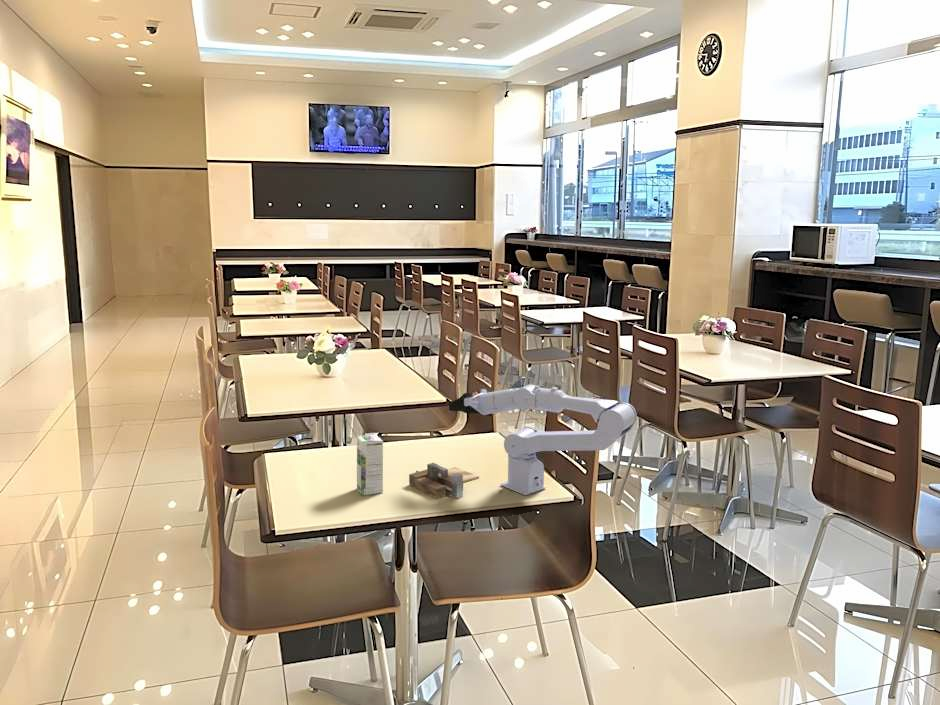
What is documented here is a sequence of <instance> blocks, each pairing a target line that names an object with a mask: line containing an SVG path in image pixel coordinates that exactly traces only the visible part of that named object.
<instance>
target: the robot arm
mask: <svg viewBox="0 0 940 705" xmlns="http://www.w3.org/2000/svg"><path fill="white" fill-rule="evenodd" d="M517 409H519V410H522V411H524V412H525V411H528V410H530V409H535V410H537V411H538V410H539V411H546V412H550V413H557V414H558V413H562V412H563V411H564V410H569V411H573V412H578V413H583V414H589V415H591V417H592V419H593V420H594V422H595V424H597V423H598V424H597V428H596V429H594V430H592V429H591V430H561V431H560V430H558V431H557V430H556V431H545V430H543V429H537V428H534V427H532V426H525V427H523V428H522V429H520V430H518V431H516V432H514V433H511V434H508V435H507V436H506V437H505V438H504V441H503V448H504V451H505V452H506V453H507V457H508V458H507V459H508V460H507V463H508V464H507V481H505V482H502V483H500V486H501V487H504V488H505V489H508V490H512V491H514V492H516V493H519V494H522V495H523V496H527V495H529V494H530V495H531V494H533V493H537V492H538V491H543V490H546V486H545V485H544V483H545V479H544V478H545V465H544V463H543V462H542V461H541V460H540V459H538V457H537V456H536V453H538V452H560V451H561V452H563V451H564V452H565V451H568V452H569V451H572V452H573V451H578V452H579V451H580V452H581V451H584V452H585V451H605V450H607V449H608V448H610V447H611V446H612V445H614V444H615V443H616V442H617V441H618V440H620V439H621V438H622V437H624V436H625V435H626V434H627V433H629V432H630V431H631V430H632V428H633V427H634V425H635V424H636V422H637V419H638V418H637V417H638V414H637V411H636V409H635V407H634V406H633V405H632V404H630V403H628V402H619V401H618V400H613V399H603V398H602V399H601V398H590V397H581V396H572V395H571V396H569V395H567V394H566V393H565V391H563V390H560V389H558V387H555V386H553V387H551V388H546V387H541V386H540V385H534V384H532V383H527V385H525V386H522V387H516V388H507V389H502V390H495V391H489V392H488V391H487V389H486V388H481V389H480V392H479V393H478V394H476V395H473V396H472V394H471V393H470V392H464V393H463V394H462V395H461V396H460V397H458V398H456V399H454V400H453V401H450V402H449V403H448V410H449V411H451V412H462V413H464V414H467V415H471V414H478V415H479V414H480V415H482V416H485V417H492V415H493V414H496V413H502V412H504V413H505V412H510V411H515V410H517Z"/></svg>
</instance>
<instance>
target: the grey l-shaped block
mask: <svg viewBox="0 0 940 705" xmlns="http://www.w3.org/2000/svg"><path fill="white" fill-rule="evenodd" d="M444 486H446V495H447V496H450V495H451V496H450V497H451V498H453V499H456V500H458V499H460V497H461V498H463V497H464V496H463V492H464V491H463V490H464V483H463V475H462V474H459V473H456V474H452V488H451V487H449V486H447V485H444ZM457 498H458V499H457Z"/></svg>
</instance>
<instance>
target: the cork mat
mask: <svg viewBox="0 0 940 705" xmlns="http://www.w3.org/2000/svg"><path fill="white" fill-rule="evenodd" d="M447 469H448V475H450V476H452V474H456V473H459V474H462V475H463V484H464V483H468V482H470V481H471V482H472V481H474V480H478V479H479V478H480V476H478V475H476V474H474V473H471V472H469V471H467V470H463V468H462V469H461V468H459V467H456V466H455V467H451V468H447Z"/></svg>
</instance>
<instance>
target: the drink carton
mask: <svg viewBox="0 0 940 705" xmlns="http://www.w3.org/2000/svg"><path fill="white" fill-rule="evenodd" d="M383 443H384V440H383V439H382V438H381V437H379V436H378V435H377V434H365V435H359V436H357V437H356V490H358V492H359V493H360V494H361V496H370V495H376V494H383V493H384V490H383V489H384V488H383V487H384V472H383V471H384V461H383V460H384V444H383Z"/></svg>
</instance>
